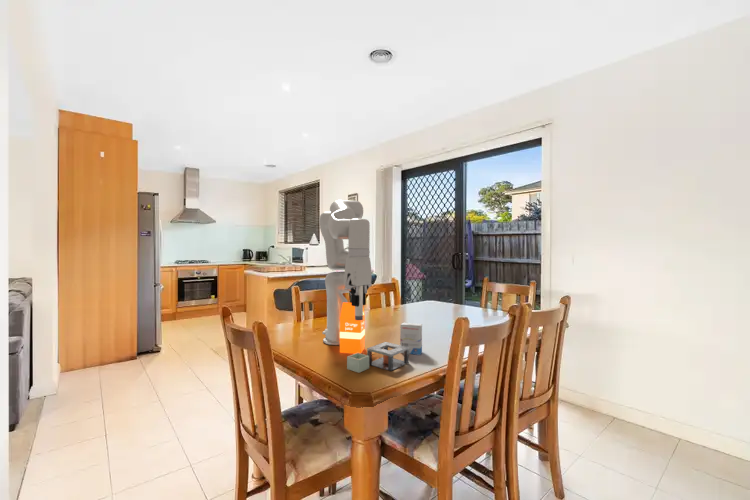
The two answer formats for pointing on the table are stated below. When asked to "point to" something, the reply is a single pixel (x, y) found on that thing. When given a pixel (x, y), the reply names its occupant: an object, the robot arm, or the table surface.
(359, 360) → the box
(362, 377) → the table surface
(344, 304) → the orange juice
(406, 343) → the ink box
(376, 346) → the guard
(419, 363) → the table surface
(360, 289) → the grey rod
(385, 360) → the button
